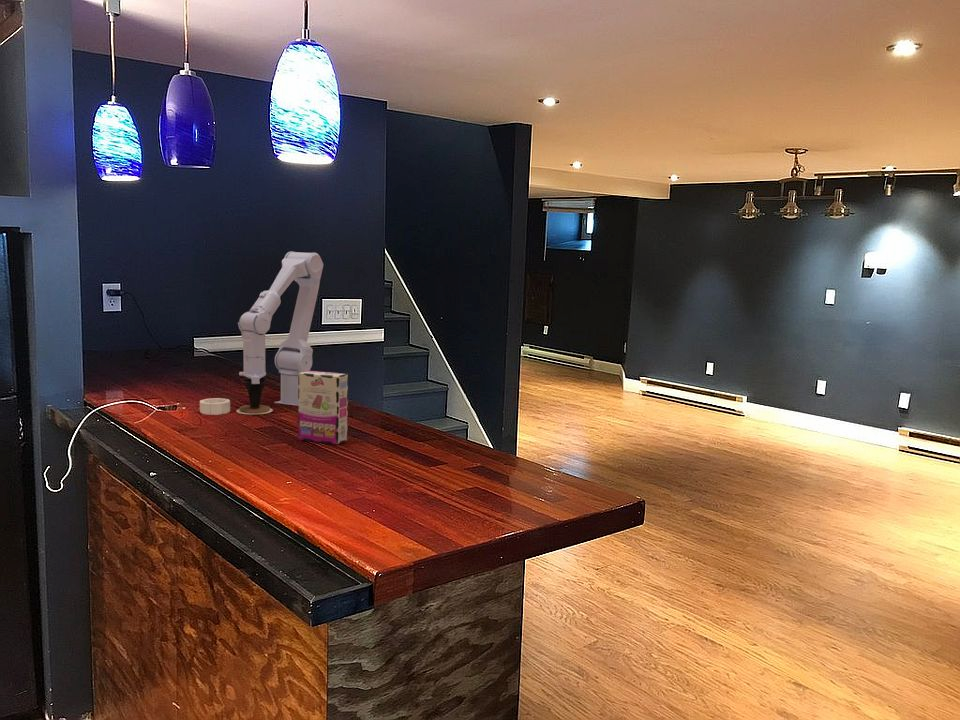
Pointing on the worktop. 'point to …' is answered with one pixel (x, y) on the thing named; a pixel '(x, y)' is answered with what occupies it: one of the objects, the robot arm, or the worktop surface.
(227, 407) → the bowl
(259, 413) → the coaster
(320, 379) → the candy bar box
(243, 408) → the lid
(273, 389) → the worktop surface
